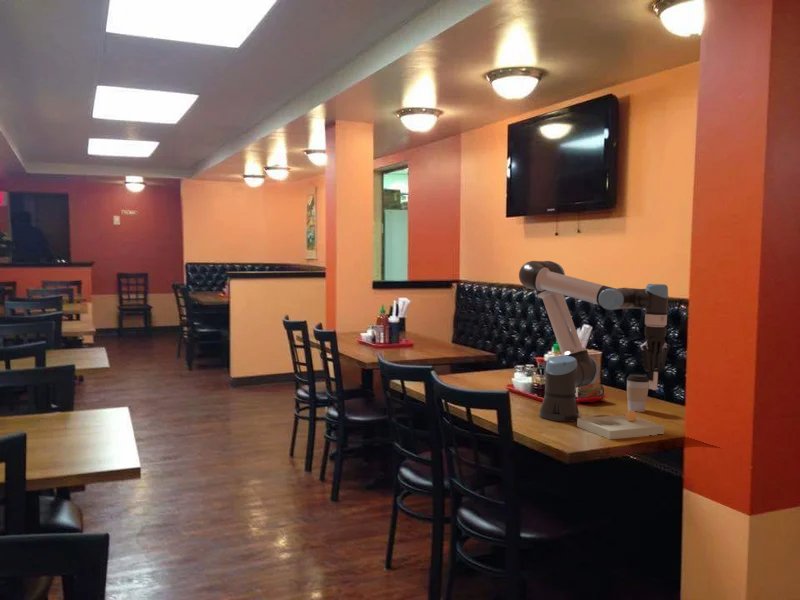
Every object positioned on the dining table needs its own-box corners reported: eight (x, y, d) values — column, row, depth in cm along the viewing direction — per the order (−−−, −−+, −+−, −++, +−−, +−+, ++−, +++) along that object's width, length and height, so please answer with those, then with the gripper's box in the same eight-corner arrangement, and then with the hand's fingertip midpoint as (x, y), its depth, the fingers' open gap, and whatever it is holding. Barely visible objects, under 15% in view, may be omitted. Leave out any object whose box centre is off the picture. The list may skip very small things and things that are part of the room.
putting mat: (577, 426, 242) (577, 418, 242) (628, 422, 251) (629, 414, 251) (609, 439, 225) (610, 430, 225) (663, 434, 234) (664, 426, 234)
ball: (622, 420, 241) (623, 409, 241) (631, 419, 242) (632, 409, 242) (630, 423, 237) (631, 412, 237) (639, 422, 239) (639, 411, 238)
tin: (578, 404, 280) (579, 384, 280) (573, 402, 283) (574, 383, 282) (604, 401, 288) (605, 382, 287) (598, 399, 290) (599, 381, 290)
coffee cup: (627, 411, 268) (629, 375, 267) (622, 406, 277) (624, 371, 276) (650, 413, 267) (652, 376, 266) (644, 408, 276) (646, 372, 275)
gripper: (649, 327, 235) (646, 392, 236) (677, 326, 240) (674, 390, 241) (634, 325, 242) (631, 388, 243) (661, 324, 247) (658, 386, 248)
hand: (652, 389), depth 242 cm, fingers closed
